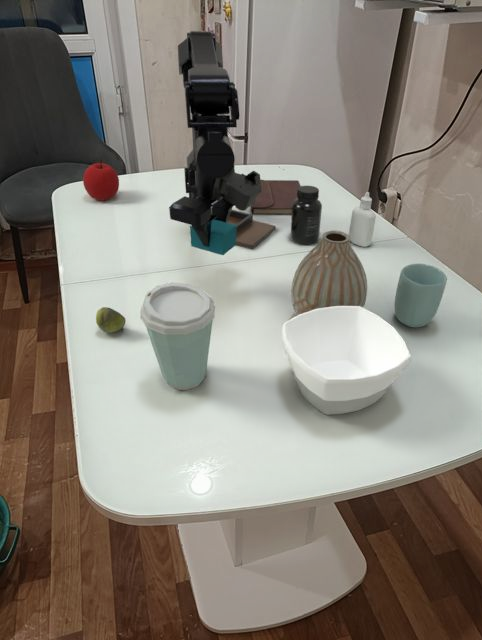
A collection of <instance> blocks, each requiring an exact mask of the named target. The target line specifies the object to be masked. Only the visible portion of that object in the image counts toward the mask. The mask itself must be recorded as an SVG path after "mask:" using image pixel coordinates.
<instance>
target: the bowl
mask: <svg viewBox="0 0 482 640" xmlns="http://www.w3.org/2000/svg"><path fill="white" fill-rule="evenodd" d="M280 332H281V341H282V345H283V348H284V351H285V353H286V356H287V359H288V362H289V365H290V367H291V369H292V373H293V376H294V379H295V382H296V385H297V387H298V389H299V391H300V392H301V395H302V396H303V397H304V398H305V399H306V400H307V401H308V402H309V403H310V404H311V405H312V406H313V408H315V409H317V410H318V411H319V412H320V413H322V414H323V415H343V414H349V413H354V412H358V411H360V410H363V409H365V408H367V407H369V406H371V405H373V404H375V403H376V402H377V401H379V400H380V399H381V398H382V397H383V396H384V394H385V393H386V392H387V391H388V389H389V388H390V387H391V386H392V385H393V383H394V382H395V381H396V380H397V379H398V378H399V376H400V375H402V373H403V372H404V371H405V369H406V368H407V367H408V366H409V365H410V363H411V362H412V356H411V353H410V351H409V348H408V346H407V344H406V342H405V339H403V337H402V336H401V334H400V333H399V331H397V330H396V328H395V327H394V326H393V325H391V324H390V323H389V322H387V321H386V320H384V319H383V318H382V317H381V316H379V315H378V314H376V313H374V312H372V311H370V310H368V309H367V308H365V307H364V308H362V307H360V306H334V307H326V308H318V309H315V310H312V311H309V312H306V313H303V314H300V315H297V314H296V316H294V317H292V318H290V319H288V320H287V321H285V322H283V324H282V325H281V328H280Z"/></svg>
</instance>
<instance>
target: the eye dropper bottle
mask: <svg viewBox="0 0 482 640" xmlns="http://www.w3.org/2000/svg"><path fill="white" fill-rule="evenodd" d="M372 201H373V199H372V197H370V191H366V192H365V194H364V196H362V197H361V198H360V202H359V206H356V207H353V209H352V210H351V211H352V212H351V218H350V224H349V230H348V235H349V237H350V243H352V244H354V245H356V246H359V247H362V248H363V247H364V248H365V247H366V248H367V247H369V246H370V245H372V241H373V236H374V230H375V224H376V220H377V219H376V218H377V215H376V213H375V211H374V210H373V209H371V208H372Z"/></svg>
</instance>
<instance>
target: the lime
mask: <svg viewBox="0 0 482 640" xmlns="http://www.w3.org/2000/svg"><path fill="white" fill-rule="evenodd" d="M126 322H127V320H126V317H125V316H123V314H121V313H120V312H119V311H117V310H115V309H113V308H111V307H108V306H107V307H100V308H99V309H98V310H97V311H96V315H95V323H96V325H97V327H98V328H99V329H100V330H101V331H103V332H104V333H115V332H118V331H120V330H122V329H123V328H124V327H125V325H126Z"/></svg>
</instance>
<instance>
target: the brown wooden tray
mask: <svg viewBox="0 0 482 640" xmlns="http://www.w3.org/2000/svg"><path fill="white" fill-rule="evenodd" d="M227 223H230V224H234V225H236V245H235V246H239V247H243V248H246V249H250V250H254V249H255V248H256V247H257V246H258V245H259V244H261V243H262V242H263V241H264V240H265V239H266V238H268V237H269V236H270V235H271V234H272V233H273V232H275V231H276V228H277V227H276V225H275V224H270V223H265V222H261V221H258V220H254V214H252V213H249V212H245V211H241V210H235V209H232V210H231V213H230V216H229V219H228V222H227Z"/></svg>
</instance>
